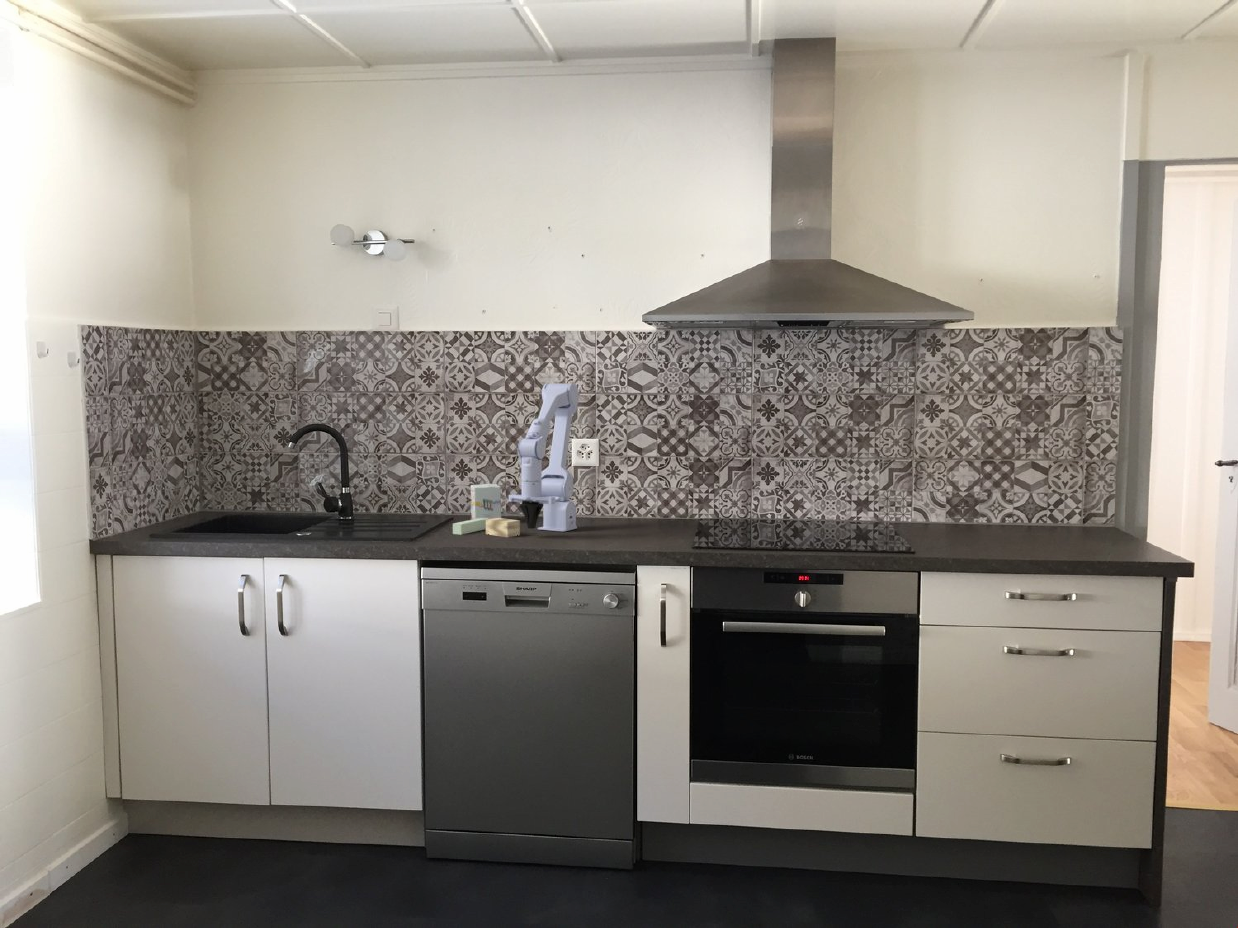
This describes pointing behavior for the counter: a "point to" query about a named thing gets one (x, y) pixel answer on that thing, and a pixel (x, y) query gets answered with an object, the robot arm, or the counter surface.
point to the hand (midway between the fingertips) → (531, 528)
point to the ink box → (485, 501)
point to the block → (502, 527)
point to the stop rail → (469, 526)
